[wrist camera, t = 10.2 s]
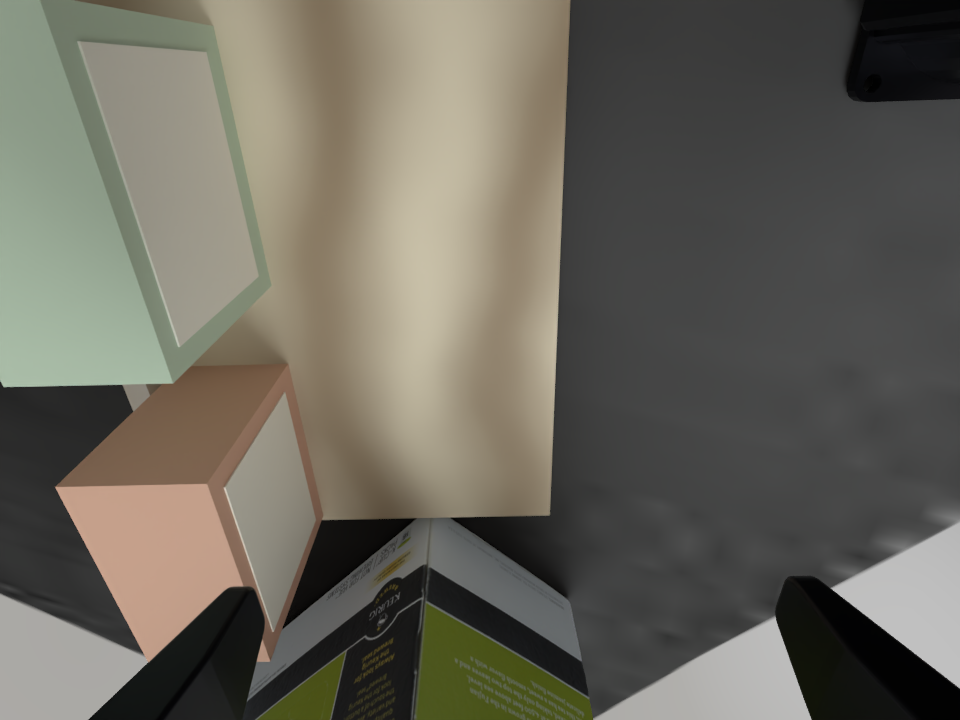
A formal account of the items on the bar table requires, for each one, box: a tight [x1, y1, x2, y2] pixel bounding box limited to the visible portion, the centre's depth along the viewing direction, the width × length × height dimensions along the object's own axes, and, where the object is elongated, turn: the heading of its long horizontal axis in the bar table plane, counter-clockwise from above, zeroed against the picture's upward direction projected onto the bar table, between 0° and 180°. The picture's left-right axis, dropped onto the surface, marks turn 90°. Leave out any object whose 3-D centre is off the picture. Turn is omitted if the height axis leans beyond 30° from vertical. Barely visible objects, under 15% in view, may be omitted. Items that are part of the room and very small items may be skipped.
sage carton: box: [0, 0, 271, 387], centre depth 13 cm, size 4×8×6 cm, turn 2°
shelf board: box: [75, 0, 570, 520], centre depth 19 cm, size 15×19×3 cm
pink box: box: [55, 364, 323, 662], centre depth 18 cm, size 4×8×6 cm, turn 2°
